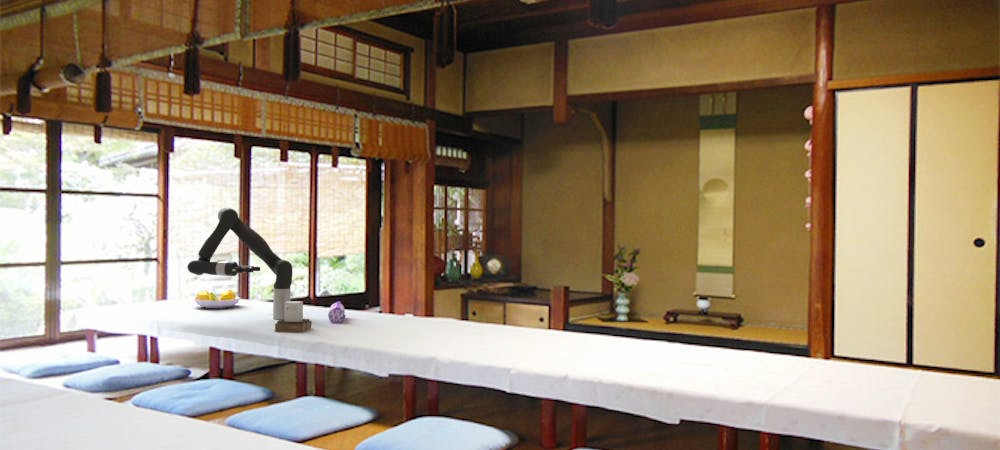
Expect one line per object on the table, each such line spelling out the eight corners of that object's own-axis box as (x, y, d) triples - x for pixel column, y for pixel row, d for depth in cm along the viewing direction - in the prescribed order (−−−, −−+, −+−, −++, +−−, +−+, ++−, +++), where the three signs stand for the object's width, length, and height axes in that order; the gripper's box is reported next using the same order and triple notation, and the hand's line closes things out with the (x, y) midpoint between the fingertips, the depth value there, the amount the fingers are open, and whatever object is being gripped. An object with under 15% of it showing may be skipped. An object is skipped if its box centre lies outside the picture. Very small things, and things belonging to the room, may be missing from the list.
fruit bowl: (208, 303, 456) (208, 286, 455) (247, 305, 452) (247, 287, 452) (182, 309, 428) (183, 291, 428) (224, 311, 424) (225, 292, 424)
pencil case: (345, 323, 390) (345, 306, 390) (328, 324, 388) (328, 306, 388) (344, 317, 412) (344, 301, 411) (327, 317, 409) (328, 301, 409)
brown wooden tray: (285, 327, 373) (285, 317, 373) (311, 328, 372) (311, 318, 372) (275, 331, 359) (275, 321, 359) (301, 332, 358) (302, 322, 358)
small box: (303, 321, 368) (303, 301, 368) (299, 323, 363) (299, 302, 362) (288, 321, 369) (288, 300, 369) (283, 322, 363) (284, 302, 363)
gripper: (220, 262, 368) (251, 263, 367) (233, 260, 382) (262, 261, 381) (220, 277, 368) (250, 277, 367) (232, 274, 382) (262, 275, 381)
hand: (256, 269), depth 374 cm, fingers open, 8 cm apart
